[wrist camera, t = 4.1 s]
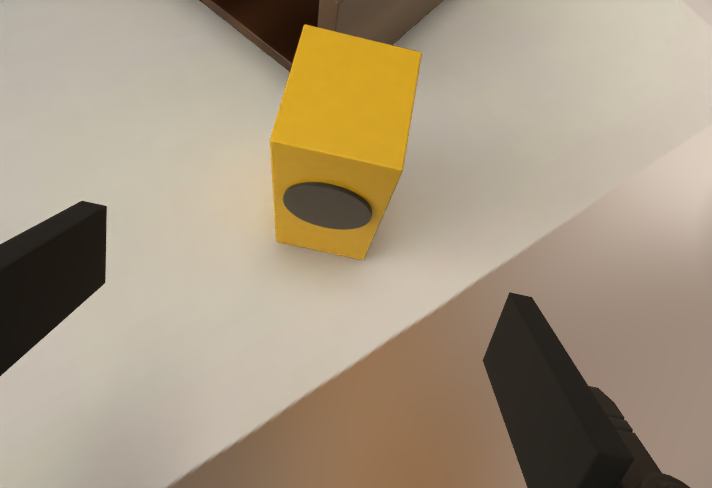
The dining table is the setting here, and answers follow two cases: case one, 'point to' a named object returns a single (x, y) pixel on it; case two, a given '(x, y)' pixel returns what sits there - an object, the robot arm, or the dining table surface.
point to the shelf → (318, 20)
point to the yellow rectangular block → (340, 140)
